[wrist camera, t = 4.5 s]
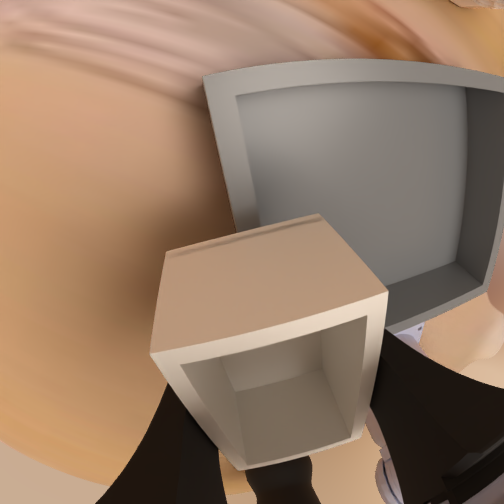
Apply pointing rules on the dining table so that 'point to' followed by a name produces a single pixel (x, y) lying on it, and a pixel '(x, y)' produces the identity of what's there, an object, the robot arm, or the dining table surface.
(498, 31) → the dining table surface
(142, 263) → the dining table surface
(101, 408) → the dining table surface
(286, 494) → the cola bottle
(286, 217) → the big crate
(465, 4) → the white cup
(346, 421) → the small crate
